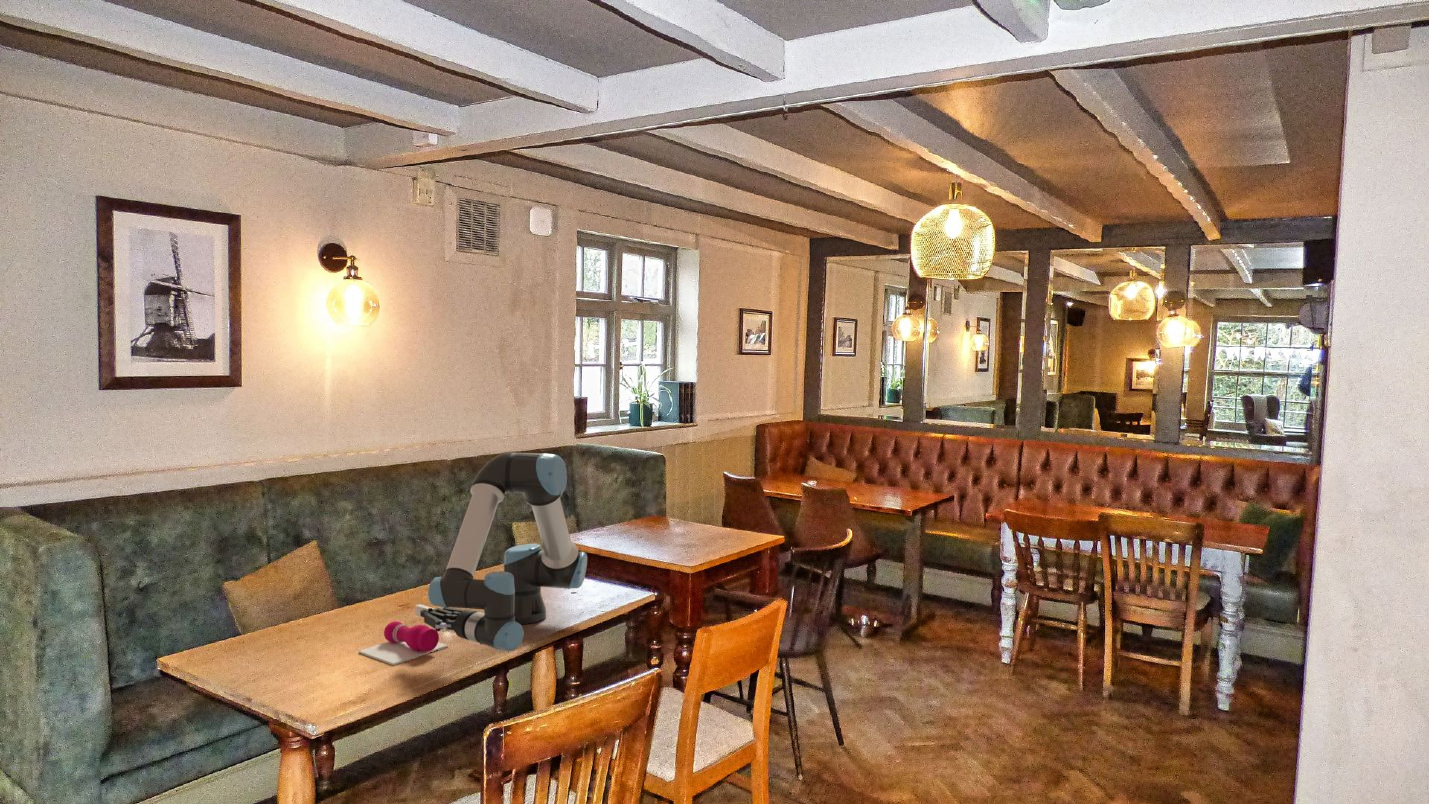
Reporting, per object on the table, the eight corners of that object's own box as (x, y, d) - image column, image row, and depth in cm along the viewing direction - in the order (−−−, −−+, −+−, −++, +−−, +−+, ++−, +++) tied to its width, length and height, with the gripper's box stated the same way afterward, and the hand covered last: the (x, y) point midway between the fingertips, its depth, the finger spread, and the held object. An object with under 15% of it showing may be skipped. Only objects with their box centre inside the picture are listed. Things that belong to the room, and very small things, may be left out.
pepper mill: (444, 633, 244) (400, 623, 255) (428, 622, 240) (383, 613, 251) (432, 657, 241) (388, 646, 252) (415, 647, 236) (370, 636, 247)
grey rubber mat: (447, 647, 247) (447, 645, 247) (393, 665, 233) (393, 663, 232) (412, 635, 256) (412, 634, 256) (358, 652, 241) (358, 650, 241)
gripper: (454, 646, 222) (397, 628, 235) (493, 633, 233) (437, 616, 246) (454, 618, 221) (397, 601, 234) (493, 606, 232) (437, 591, 245)
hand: (417, 609), depth 240 cm, fingers closed
